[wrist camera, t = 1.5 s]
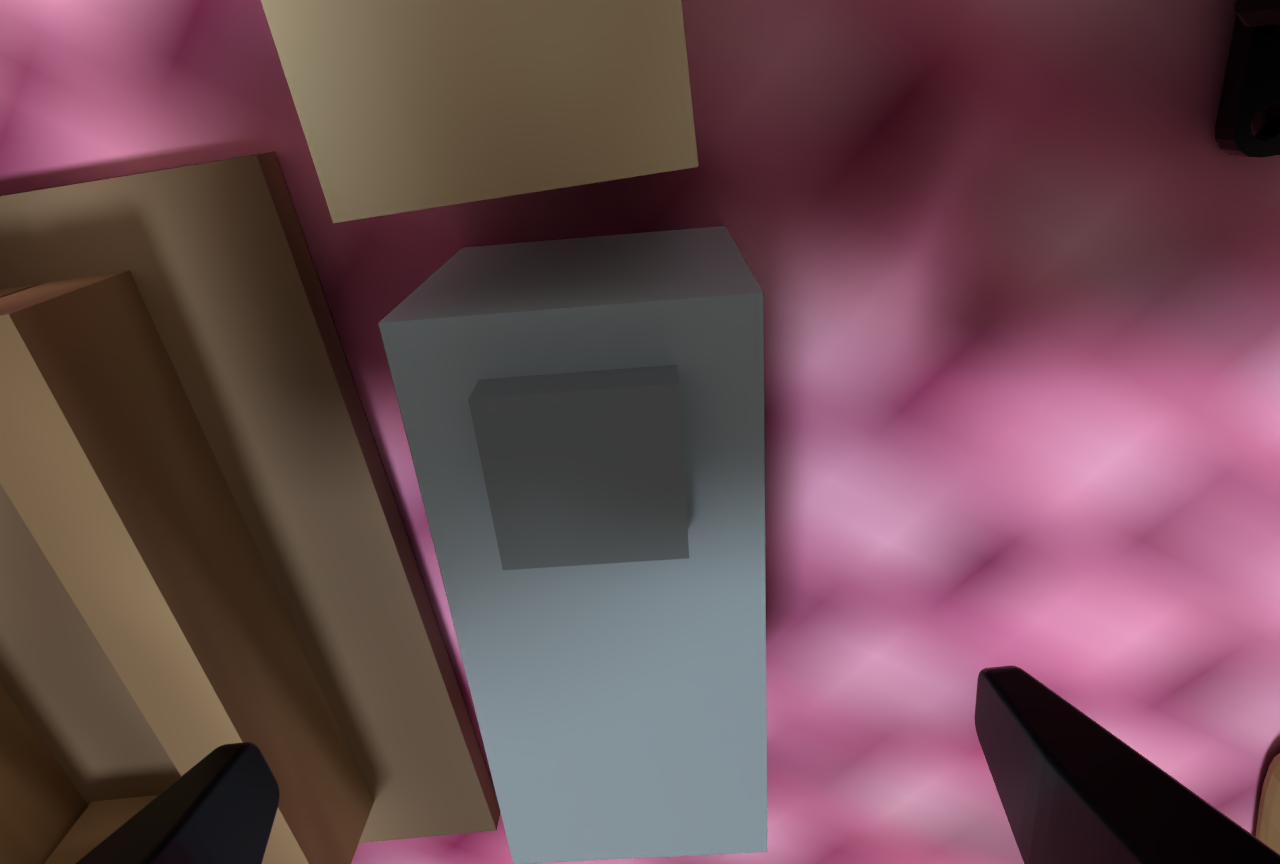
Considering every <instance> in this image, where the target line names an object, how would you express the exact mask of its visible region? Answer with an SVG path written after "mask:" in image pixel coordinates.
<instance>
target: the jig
mask: <svg viewBox="0 0 1280 864" xmlns="http://www.w3.org/2000/svg"><path fill="white" fill-rule="evenodd" d="M243 742H252V743H254V744H256V745H257V746H258V747H259V748H260V750H261V752H262V754H263V756H264V758H265V759H266V761H267V763H268V765H269V767H270V769H271V771H272V772H273V774H274V776H275V778H276V780H277V782H278V784H279V789H280V799H279V805H278V809H277V812H276V816H275V819H274V823H273V826H272V830H271V833H270V837H269V840H268V844H267V847H266V851H265V854H264V858H263V861H262V864H351V862H352V859H353V857H354V854H355V851H356V849H357V846H358V843H363V842H374V841H385V840H396V839H407V838H418V837H429V836H439V835H450V834H461V833H472V832H483V831H494V830H497V825H498V820H499V815H500V808H499V804H498V800H497V796H496V793H495V790H494V787H493V784H492V781H491V779H490V776H489V773H488V770H487V767H486V764H485V761H484V758H483V755H482V752H481V750H480V747H479V744H478V741H477V738H476V735H475V732H474V729H473V726H472V723H471V720H470V718H469V715H468V712H467V709H466V706H465V703H464V700H463V697H462V694H461V691H460V689H459V686H458V683H457V680H456V677H455V674H454V671H453V668H452V665H451V662H450V659H449V657H448V654H447V651H446V648H445V645H444V642H443V639H442V636H441V633H440V630H439V628H438V625H437V622H436V619H435V616H434V613H433V610H432V607H431V604H430V601H429V599H428V596H427V593H426V590H425V587H424V584H423V581H422V578H421V575H420V572H419V569H418V567H417V564H416V561H415V558H414V555H413V552H412V549H411V546H410V543H409V540H408V538H407V535H406V532H405V529H404V526H403V523H402V520H401V517H400V514H399V511H398V508H397V506H396V503H395V500H394V497H393V494H392V491H391V488H390V485H389V482H388V479H387V477H386V474H385V471H384V468H383V465H382V462H381V459H380V456H379V453H378V450H377V448H376V445H375V442H374V439H373V436H372V433H371V430H370V427H369V424H368V421H367V418H366V416H365V413H364V410H363V407H362V404H361V401H360V398H359V395H358V392H357V389H356V387H355V384H354V381H353V378H352V375H351V372H350V369H349V366H348V363H347V360H346V357H345V355H344V352H343V349H342V346H341V343H340V340H339V337H338V334H337V331H336V328H335V326H334V323H333V320H332V317H331V314H330V311H329V308H328V305H327V302H326V299H325V297H324V294H323V291H322V288H321V285H320V282H319V279H318V276H317V273H316V270H315V267H314V265H313V262H312V259H311V256H310V253H309V250H308V247H307V244H306V241H305V238H304V236H303V233H302V230H301V227H300V224H299V221H298V218H297V215H296V212H295V209H294V206H293V204H292V201H291V198H290V195H289V192H288V189H287V186H286V183H285V180H284V177H283V175H282V172H281V169H280V166H279V163H278V160H277V157H276V154H275V152H270V153H263V154H257V155H251V156H245V157H239V158H232V159H226V160H220V161H214V162H208V163H201V164H195V165H189V166H183V167H177V168H170V169H164V170H158V171H152V172H146V173H139V174H133V175H127V176H121V177H115V178H108V179H102V180H96V181H90V182H84V183H77V184H71V185H65V186H59V187H53V188H46V189H40V190H34V191H28V192H22V193H15V194H9V195H3V196H0V864H75V863H76V862H78V861H79V860H80V859H81V858H83V857H84V856H85V855H86V854H87V853H89V852H90V851H91V850H92V849H93V848H95V847H96V846H97V845H98V844H100V843H101V842H102V841H103V840H104V839H106V838H107V837H108V836H109V835H111V834H112V833H113V832H114V831H115V830H117V829H118V828H119V827H120V826H122V825H123V824H124V823H125V822H126V821H128V820H129V819H130V818H131V817H132V816H134V815H135V814H136V813H137V812H139V811H140V810H141V809H142V808H143V807H145V806H146V805H147V804H148V803H150V802H151V801H152V800H153V799H154V798H156V797H157V796H158V795H159V794H161V793H162V792H163V791H164V790H165V789H167V788H168V787H169V786H170V785H171V784H173V783H174V782H175V781H176V780H178V779H179V778H180V777H181V776H182V775H184V774H185V773H186V772H187V771H189V770H190V769H191V768H192V767H193V766H195V765H196V764H197V763H198V762H200V761H201V760H202V759H203V758H204V757H206V756H207V755H208V754H209V753H210V752H212V751H213V750H214V749H216V748H217V747H219V746H222V745H225V744H233V743H243Z"/></svg>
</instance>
